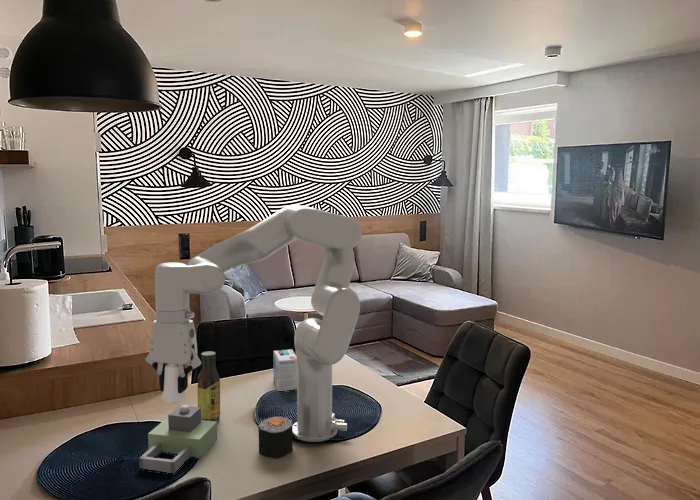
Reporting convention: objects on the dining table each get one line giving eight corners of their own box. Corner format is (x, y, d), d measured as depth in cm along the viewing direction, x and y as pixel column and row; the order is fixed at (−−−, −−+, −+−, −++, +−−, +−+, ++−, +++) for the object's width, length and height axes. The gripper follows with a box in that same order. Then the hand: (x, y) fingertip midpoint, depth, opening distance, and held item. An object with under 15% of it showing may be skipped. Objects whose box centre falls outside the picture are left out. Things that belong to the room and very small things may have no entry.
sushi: (253, 453, 139) (252, 423, 138) (273, 439, 147) (273, 411, 145) (278, 462, 135) (278, 431, 134) (298, 447, 142) (298, 418, 141)
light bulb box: (272, 380, 188) (272, 350, 186) (292, 378, 190) (292, 348, 188) (278, 392, 178) (278, 360, 176) (298, 390, 180) (298, 358, 178)
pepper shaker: (174, 392, 135) (174, 349, 134) (190, 397, 133) (190, 353, 131) (157, 400, 130) (156, 355, 129) (173, 405, 128) (172, 359, 126)
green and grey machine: (217, 439, 146) (216, 403, 145) (184, 475, 129) (182, 434, 127) (169, 434, 149) (167, 398, 147) (130, 468, 131) (128, 428, 130)
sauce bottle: (214, 426, 153) (213, 358, 151) (193, 424, 155) (192, 356, 152) (224, 416, 160) (223, 350, 157) (204, 414, 161) (202, 349, 158)
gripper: (212, 314, 131) (213, 387, 134) (148, 309, 134) (149, 381, 136) (198, 322, 124) (199, 399, 126) (131, 316, 127) (132, 393, 129)
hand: (173, 389), depth 131 cm, fingers closed on pepper shaker, 3 cm apart
